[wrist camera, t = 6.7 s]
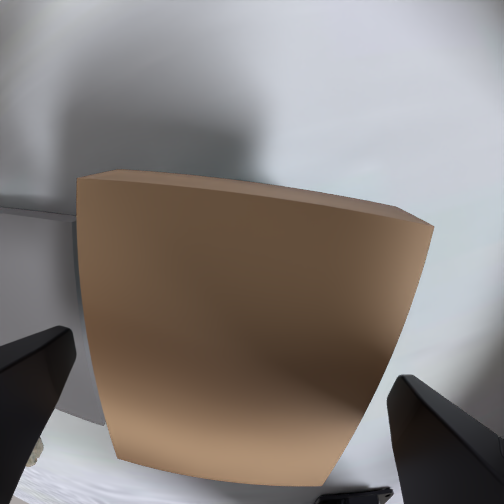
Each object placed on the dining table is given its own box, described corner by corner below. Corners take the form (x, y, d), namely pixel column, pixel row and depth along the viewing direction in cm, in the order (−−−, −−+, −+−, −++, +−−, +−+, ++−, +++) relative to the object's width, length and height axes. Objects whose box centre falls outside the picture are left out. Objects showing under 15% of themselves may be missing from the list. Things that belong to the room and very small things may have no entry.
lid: (316, 444, 10) (321, 486, 8) (133, 419, 10) (117, 458, 8) (396, 206, 7) (434, 226, 5) (118, 169, 7) (77, 177, 5)
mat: (109, 414, 16) (103, 425, 15) (-5, 368, 16) (-12, 376, 15) (84, 216, 12) (72, 222, 11) (-41, 202, 12) (-53, 206, 11)
